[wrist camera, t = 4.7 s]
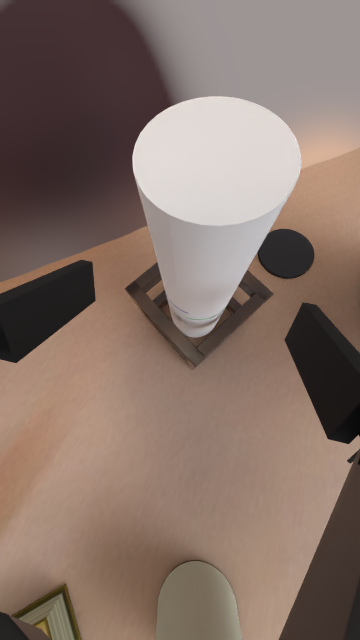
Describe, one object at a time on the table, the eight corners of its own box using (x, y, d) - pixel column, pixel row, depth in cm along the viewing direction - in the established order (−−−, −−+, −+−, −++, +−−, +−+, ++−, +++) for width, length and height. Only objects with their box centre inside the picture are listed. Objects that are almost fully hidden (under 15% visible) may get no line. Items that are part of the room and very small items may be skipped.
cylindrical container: (187, 286, 34) (189, 77, 10) (225, 308, 33) (329, 132, 9) (163, 322, 33) (98, 177, 9) (202, 346, 32) (250, 257, 8)
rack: (248, 317, 33) (273, 293, 23) (192, 369, 31) (195, 367, 21) (196, 267, 35) (200, 227, 26) (142, 313, 33) (124, 288, 24)
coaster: (323, 255, 35) (325, 253, 34) (287, 289, 34) (289, 287, 33) (282, 222, 37) (283, 219, 36) (246, 253, 36) (247, 250, 35)
